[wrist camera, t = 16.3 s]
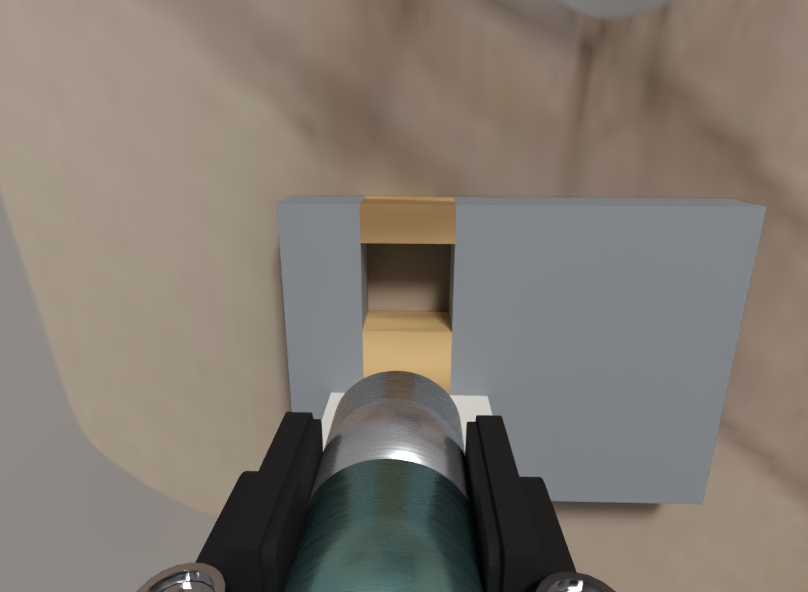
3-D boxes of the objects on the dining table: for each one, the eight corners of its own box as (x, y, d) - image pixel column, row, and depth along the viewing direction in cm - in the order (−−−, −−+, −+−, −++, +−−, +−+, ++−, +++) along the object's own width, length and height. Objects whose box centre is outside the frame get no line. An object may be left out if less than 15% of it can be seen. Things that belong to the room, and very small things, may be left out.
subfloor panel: (675, 469, 31) (702, 504, 28) (308, 462, 31) (297, 495, 29) (728, 198, 26) (766, 207, 23) (291, 195, 27) (276, 203, 24)
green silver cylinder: (458, 483, 13) (511, 949, 6) (335, 481, 13) (228, 937, 6) (463, 371, 12) (534, 754, 5) (330, 369, 13) (193, 743, 5)
